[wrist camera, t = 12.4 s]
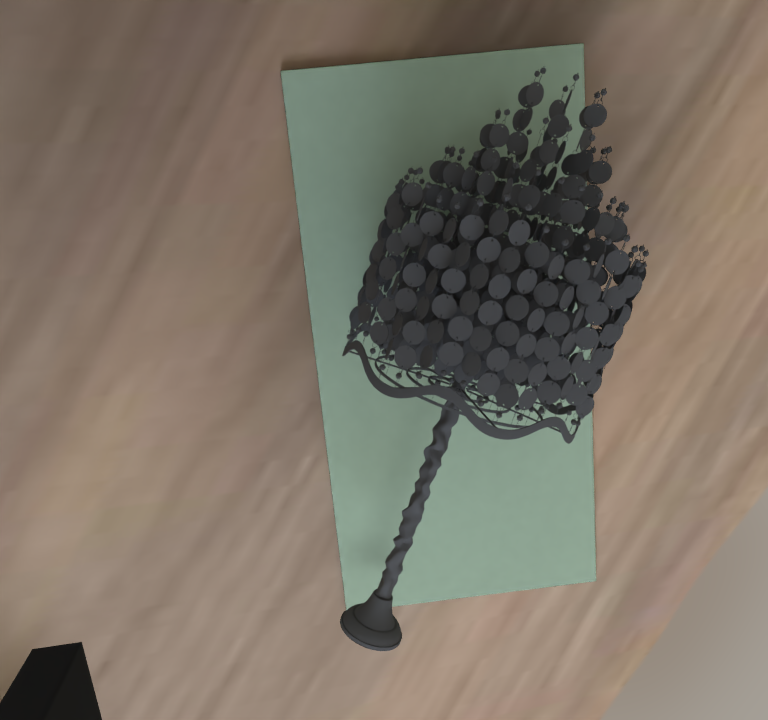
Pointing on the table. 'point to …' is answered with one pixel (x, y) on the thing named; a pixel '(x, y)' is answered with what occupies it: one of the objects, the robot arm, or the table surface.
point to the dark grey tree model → (493, 300)
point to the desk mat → (416, 416)
